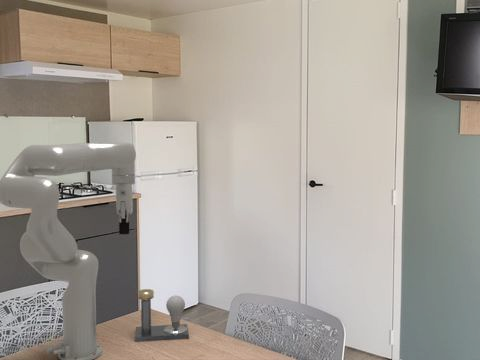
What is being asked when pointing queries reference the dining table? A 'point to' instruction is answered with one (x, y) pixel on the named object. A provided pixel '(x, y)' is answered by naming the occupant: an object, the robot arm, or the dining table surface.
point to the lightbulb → (175, 309)
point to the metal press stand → (157, 327)
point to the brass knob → (145, 294)
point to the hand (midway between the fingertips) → (124, 233)
